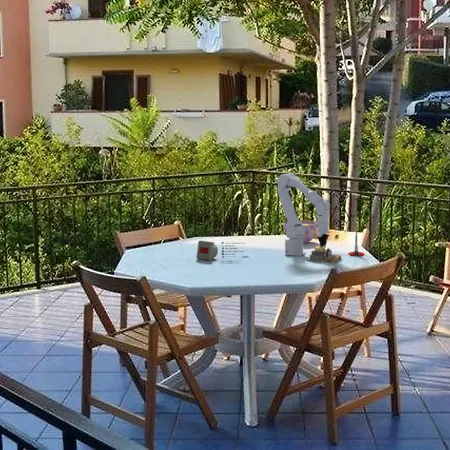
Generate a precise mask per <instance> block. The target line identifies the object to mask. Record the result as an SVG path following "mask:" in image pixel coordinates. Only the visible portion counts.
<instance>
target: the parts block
mask: <svg viewBox="0 0 450 450" xmlns="http://www.w3.org/2000/svg"><path fill="white" fill-rule="evenodd" d="M340 260H342V254H333V255H331V256H329V257H328V258H326V262H325V263H327V262H329V264H331V263H332V264H337V263H338V262H339V261H340ZM337 261H338V262H337Z"/></svg>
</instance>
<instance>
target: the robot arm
mask: <svg viewBox="0 0 450 450" xmlns="http://www.w3.org/2000/svg"><path fill="white" fill-rule="evenodd" d="M276 182H277V194H278V197H279V200H280V203H281V206H282V210H283V212H284V215H285V217H286V222H288V224H287V226H286V227H287V235H288V236H289V238H287V237H286V238H285V240H284V241H285V242H284V255H285V256H304V255H305V254H306V252H304V244H303V235H304V234H305V228H304V226H303V225H302V224H301V222H300V221H301V220H299V219H298V216H297V214H296V211H295V207H294V204H293V202H292V199H291V196H290V193H289V192H290V190H291V188H292V187H294V188H296V189H298V190H299V192H301V193H303V195H305V197H306V200H307V201H308V202H309V203H311V204H312V205H313V206H314V208H315V210H316V214H317V217H316V219H317V221H316V222H317V230H316V231H317V232H316V234H317V235H316V238H317V239H318V241H319V245H325V248H327V242H328V239H329V236H330V234H331V232H332V231H330V230H329V209H330V208H331V203H330V201H329V199H324V197H322V196H320V195H319V194H318V192H317V190H310V189H309V188H308V186H307V185H306V184H304V182H302V181H301V180H300V178H299V176H297V175H296V174H295V173H292V172H289V173H285V174H280V175H279V176H278V178H277V180H276Z"/></svg>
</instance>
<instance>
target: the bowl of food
mask: <svg viewBox="0 0 450 450" xmlns="http://www.w3.org/2000/svg"><path fill="white" fill-rule="evenodd" d="M299 221H300V222H301V224H302V225H303V226H304V228H305V234H304V235H303V245H304V244H307V243H309V242H311V241H312V240H314V239H315V236H316V235H315V234H316V233H317V232H316V231H317V229H318V224H317V223H318V221H311V220H299ZM287 224H288V221H285V222H283V229H284V232H285V237H286V238H289V236H288V235H287V227H286V226H287Z"/></svg>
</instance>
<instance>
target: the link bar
mask: <svg viewBox="0 0 450 450" xmlns="http://www.w3.org/2000/svg"><path fill="white" fill-rule="evenodd" d="M325 250H326V247H325V245H320V244H319V245H316V246H315V247H314V251H321V254H322V252H323V251H325Z"/></svg>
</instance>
